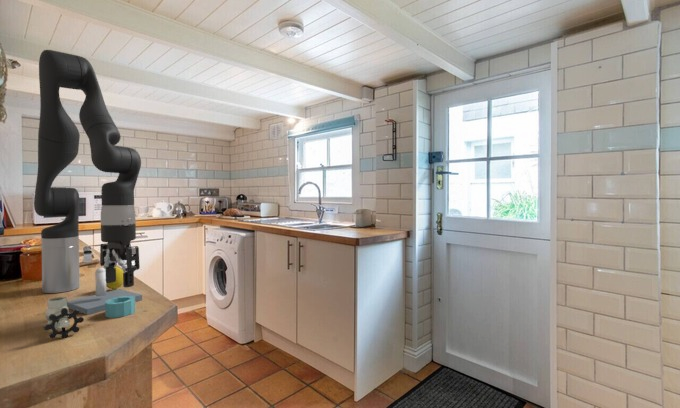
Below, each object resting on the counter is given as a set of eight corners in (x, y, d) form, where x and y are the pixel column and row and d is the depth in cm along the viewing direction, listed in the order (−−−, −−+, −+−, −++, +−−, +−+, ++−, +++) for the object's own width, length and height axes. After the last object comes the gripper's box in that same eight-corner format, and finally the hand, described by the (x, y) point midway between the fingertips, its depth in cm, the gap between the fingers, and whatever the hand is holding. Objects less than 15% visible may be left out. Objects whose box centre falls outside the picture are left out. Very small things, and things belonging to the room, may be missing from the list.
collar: (100, 314, 84) (100, 301, 84) (126, 307, 90) (126, 294, 90) (113, 319, 81) (113, 305, 81) (140, 311, 87) (140, 298, 87)
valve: (37, 328, 76) (44, 344, 68) (37, 300, 76) (44, 312, 68) (73, 320, 81) (84, 334, 73) (73, 293, 81) (83, 305, 73)
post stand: (65, 307, 90) (64, 269, 89) (119, 293, 102) (119, 260, 102) (87, 315, 84) (86, 274, 84) (142, 299, 96) (141, 264, 96)
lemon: (114, 293, 102) (114, 268, 102) (99, 292, 103) (99, 267, 103) (129, 288, 107) (128, 264, 107) (115, 287, 109) (114, 263, 108)
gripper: (88, 222, 85) (89, 284, 85) (117, 224, 78) (118, 292, 78) (119, 220, 91) (120, 278, 92) (149, 222, 84) (149, 284, 85)
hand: (119, 284), depth 85 cm, fingers open, 8 cm apart
